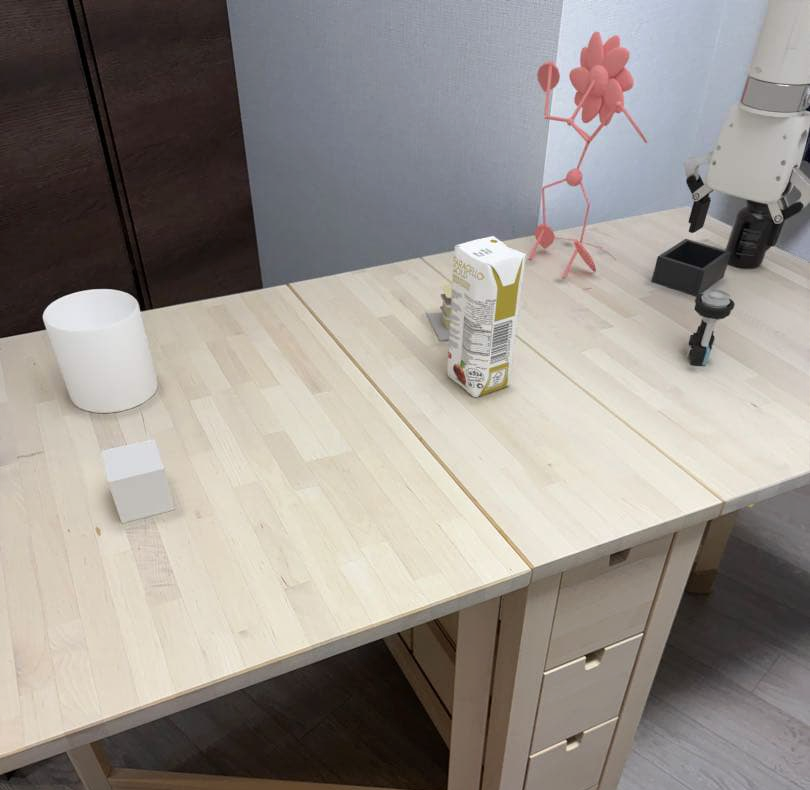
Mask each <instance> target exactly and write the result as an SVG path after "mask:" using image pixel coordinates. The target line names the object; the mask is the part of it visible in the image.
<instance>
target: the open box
mask: <svg viewBox="0 0 810 790" xmlns="http://www.w3.org/2000/svg"><path fill="white" fill-rule="evenodd" d="M730 255H731V252H729V251H726V249H723V248H719V247H715V246H712V245H709V244H706V243H703V242H698V241H696V240H692V239H688V238H684V239H682V240H681V241H679V242H678V243H676V244H675V245H673V246H672V247H670V248H669V249H667V250H665V251H664V252H662V253H661V254H659V255H658V256H657V258H656V262H655V266H654V269H653V274H652V276H651V277H652V278H651V283H653V284H654V283H655V284H657V285H660V286H663V287H667V288H670V289H673V290H676V291H679V292H682V293H684V294H688V295H690V296H694V297H697V296H698V295H700V294H704V292H705V291H706V290H709V288H710V287H712V286H713V285H715V284H717V282H719V281H721V279H723V278H724V276H725V273H726V271H727V267H728V264H729V263H728V261H729V258H730Z"/></svg>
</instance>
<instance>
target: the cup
mask: <svg viewBox="0 0 810 790" xmlns="http://www.w3.org/2000/svg"><path fill="white" fill-rule="evenodd" d="M42 321H43V324H44V327H45V330H46V333H47V335H48V338H49V341H50V343H51V346H52V350H53V353H54V355H55V357H56V361H57V364H58V367H59V370H60V373H61V376H62V378H63V381H64V384H65V387H66V390H67V393H68V396H69V399H70V401H71V402H72V404H73V405H74V406H76V407H77V408H79V409H81V410H83V411H86V412H91V413H95V414H96V413H99V414H110V413H113V414H114V413H118V412H123V411H127V410H131V409H133V408H136V407H138V406H140V405H142V404H143V403H146V402H147V401H148V400H150V398H152V397H153V395H155V393H156V391H157V389H158V387H159V386H158V385H159V381H158V376H157V372H156V369H155V364H154V361H153V357H152V352H151V349H150V345H149V341H148V337H147V332H146V328H145V325H144V324H145V323H144V321H143V317H142V312H141V309H140V304H139V302H138V300H137V299H136V298H135V297H134V296H133V295H131V294H130V293H128V292H126V291H125V292H124V291H122V290H117V289H109V288H96V289H95V288H94V289H86V290H82V291H77V292H73V293H70V294H67V295H64V296H62V297H59V298H58V299H56V300H54V301H52V302H51V303H50V304H49V305H48V306H46V308H45V309H44V311H43V314H42Z"/></svg>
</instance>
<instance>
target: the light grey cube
mask: <svg viewBox="0 0 810 790" xmlns="http://www.w3.org/2000/svg"><path fill="white" fill-rule="evenodd" d="M100 455H101V459H102V464H103V467H104V471H105V477H106V480H107V484H108V487H109V489H110V492H111V496H112V499H113V502H114V504H115V507H116V510H117V513H118V516H119V519H120V522H121V524H125V523H129V522H133V521H136V520H140V519H141V520H142V519H144V518H148V517H152V516H156V515H161V514H164V513H168V512H172V511H176V507H175V503H174V500H173V496H172V492H171V488H170V485H169V481H168V477H167V474H166V468H165V466H164V463H163V461H162V458H161V454H160V451H159V447H158V445H157V443H156V439H155V438H152V439H147V440H144V441H138V442H134V443H130V444H126V445H121V446H116V447H111V448H108V449H104V450H100Z"/></svg>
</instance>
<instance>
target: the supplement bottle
mask: <svg viewBox="0 0 810 790" xmlns="http://www.w3.org/2000/svg"><path fill="white" fill-rule="evenodd" d="M745 200H746V201H745V203H746V205H743V206H741V207H740V208H739V209H738V210H737V212H736V214H735V218H734V221H733V224H732V228H731V230H730V235H729V237H728V241H727V244H726V247H725V250H726V251H729V252H731V255H730V258H729V261H728V264H729V265H731V266H733V267H737V268H743V269H754V268H757V267H759V266H761V265H762V263H763V261H764V259H765V256H766V253H767V251H765V252H764V253H763V254H761V253H758V251H757V250H758V247H759V244H760V241H761V238H762V236H763V233H764V230H765V227H766V224H767V222H769V221H770V220H771V219H772V216H771V213H770V210H769V208H768V205H767V204H764V203H759V202H755V201H751V200H747V199H745Z"/></svg>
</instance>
